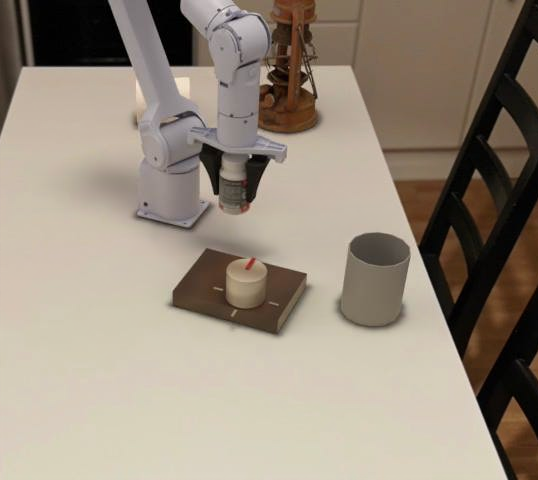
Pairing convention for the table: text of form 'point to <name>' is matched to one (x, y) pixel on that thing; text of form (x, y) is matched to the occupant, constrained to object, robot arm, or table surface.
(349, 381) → the table surface
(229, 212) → the pill bottle
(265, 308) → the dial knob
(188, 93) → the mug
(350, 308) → the cup
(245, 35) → the robot arm
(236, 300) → the rotary knob
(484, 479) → the table surface
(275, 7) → the lantern
